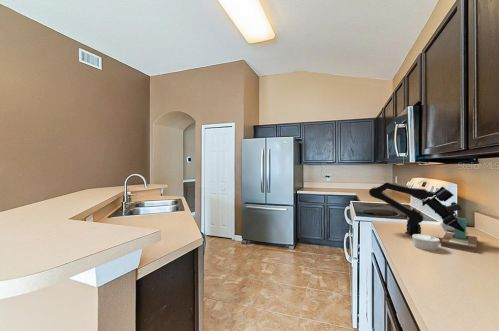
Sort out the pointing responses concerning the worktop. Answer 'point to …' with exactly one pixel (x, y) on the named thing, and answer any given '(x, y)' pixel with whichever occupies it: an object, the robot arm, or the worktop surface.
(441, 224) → the die
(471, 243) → the puzzle board
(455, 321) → the worktop surface
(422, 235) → the ramekin
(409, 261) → the worktop surface
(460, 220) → the teal block
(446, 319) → the worktop surface
